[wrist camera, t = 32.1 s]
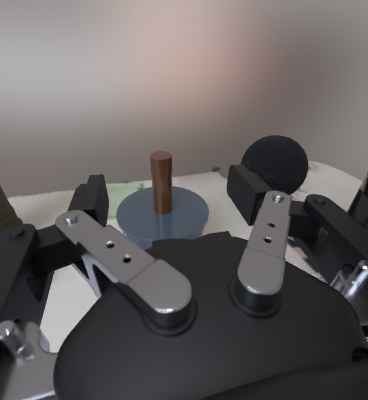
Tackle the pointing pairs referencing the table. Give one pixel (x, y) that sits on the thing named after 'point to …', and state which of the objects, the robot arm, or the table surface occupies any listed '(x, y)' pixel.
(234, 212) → the table surface
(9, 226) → the container
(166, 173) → the lid
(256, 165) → the black ball on stand
